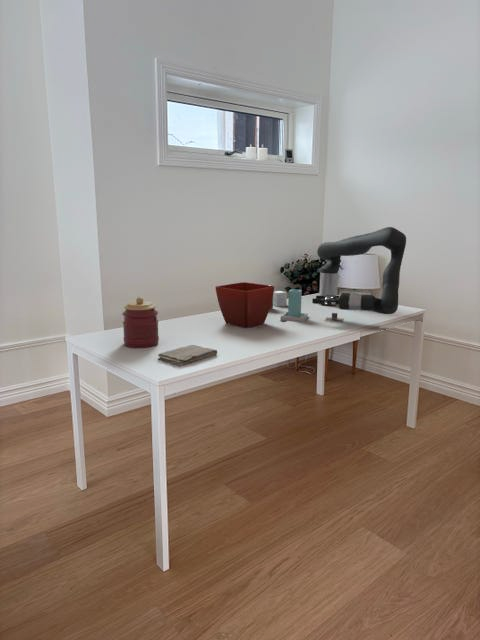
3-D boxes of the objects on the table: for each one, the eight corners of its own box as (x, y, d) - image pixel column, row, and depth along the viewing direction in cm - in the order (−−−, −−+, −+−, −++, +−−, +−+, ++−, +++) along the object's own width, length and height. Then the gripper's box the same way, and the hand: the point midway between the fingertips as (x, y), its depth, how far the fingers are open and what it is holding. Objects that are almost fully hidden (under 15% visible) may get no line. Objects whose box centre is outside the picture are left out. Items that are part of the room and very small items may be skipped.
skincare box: (286, 306, 253) (287, 292, 252) (276, 306, 251) (277, 293, 249) (280, 304, 259) (281, 290, 257) (271, 304, 256) (271, 291, 254)
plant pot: (214, 323, 212) (214, 286, 208) (243, 317, 226) (243, 281, 222) (246, 331, 199) (246, 291, 196) (274, 323, 213) (275, 286, 209)
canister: (127, 350, 170) (125, 301, 167) (120, 341, 182) (118, 295, 178) (162, 346, 175) (161, 299, 172) (154, 337, 187) (153, 293, 183)
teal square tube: (290, 316, 224) (291, 289, 221) (300, 317, 223) (301, 289, 220) (287, 318, 220) (288, 290, 217) (298, 319, 218) (299, 291, 215)
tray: (285, 316, 228) (285, 311, 227) (307, 318, 225) (307, 313, 224) (280, 320, 218) (280, 316, 218) (303, 322, 215) (303, 317, 214)
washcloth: (155, 361, 159) (155, 352, 159) (193, 349, 173) (193, 341, 172) (180, 368, 152) (180, 359, 151) (218, 356, 166) (218, 347, 165)
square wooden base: (326, 318, 223) (327, 311, 223) (344, 320, 221) (344, 312, 220) (324, 322, 216) (324, 314, 215) (342, 323, 214) (342, 315, 213)
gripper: (352, 290, 217) (317, 288, 222) (349, 295, 204) (311, 293, 209) (351, 307, 219) (316, 304, 224) (348, 313, 205) (311, 310, 211)
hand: (314, 299), depth 216 cm, fingers open, 8 cm apart
